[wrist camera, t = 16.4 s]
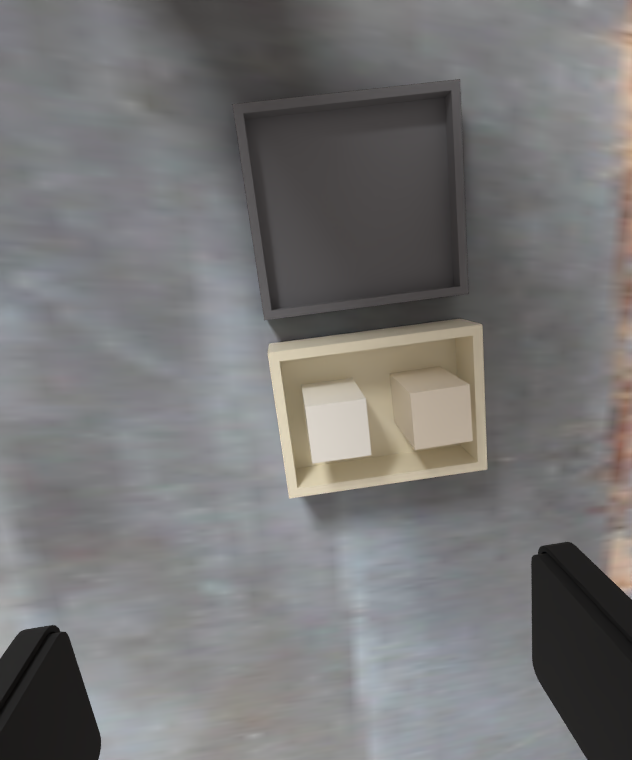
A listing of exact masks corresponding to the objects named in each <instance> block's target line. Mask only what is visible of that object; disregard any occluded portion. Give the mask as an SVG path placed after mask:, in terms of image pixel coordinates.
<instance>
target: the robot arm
mask: <svg viewBox="0 0 632 760" xmlns="http://www.w3.org/2000/svg"><path fill="white" fill-rule="evenodd" d="M531 568H532V661H533V667H534V670H535V673H536V676H537V678H538V680H539V682H540V684H541V685H542V687H543V689H544V690H545V692H546V693H547V695H548V697H549V698H550V700H551V702H552V703H553V705H554V706H555V708H556V710H557V711H558V713H559V714H560V716H561V718H562V719H563V721H564V723H565V724H566V726H567V727H568V729H569V731H570V732H571V734H572V735H573V737H574V739H575V740H576V742H577V744H578V745H579V747H580V748H581V750H582V752H583V753H584V755H585V756H586V758H587V760H632V600H631V599H630V598H629V597H628V596H627V595H626V594H625V593H624V592H623V591H622V590H621V589H620V588H619V587H618V586H617V585H616V584H615V583H614V582H613V581H612V580H611V579H610V578H608V577H607V576H606V575H605V574H604V573H603V572H602V571H601V570H600V569H599V568H598V567H597V566H596V565H595V564H594V563H593V562H592V561H591V560H590V559H589V558H588V557H587V556H586V555H584V554H583V553H582V552H581V551H580V550H579V549H578V548H577V547H576V546H575V545H574V544H572V543H570V542H564V543H558V544H551V545H545V546H541V547H540V548H539V550H538V555H534V556H533V557H532V561H531ZM100 749H101V737H100V733H99V729H98V726H97V723H96V720H95V717H94V714H93V711H92V708H91V704H90V701H89V698H88V695H87V692H86V689H85V686H84V683H83V679H82V676H81V673H80V670H79V667H78V664H77V661H76V658H75V654H74V651H73V648H72V645H71V642H70V639H69V636H68V634H67V633H66V632H60V630H59V628H58V627H57V626H55V625H51V626H44V627H38V628H32V629H26V630H23V631H21V632H20V633H19V634H18V635H17V636H16V637H15V639H14V640H13V641H12V643H11V644H10V646H9V647H8V649H7V650H6V651H5V653H4V654H3V656H2V657H1V659H0V760H98V759H99V755H100Z"/></svg>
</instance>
